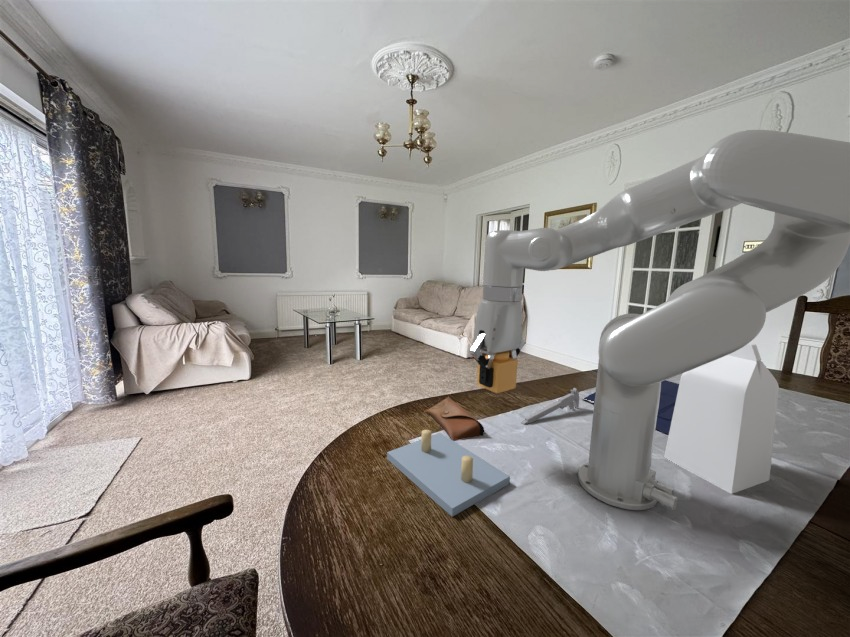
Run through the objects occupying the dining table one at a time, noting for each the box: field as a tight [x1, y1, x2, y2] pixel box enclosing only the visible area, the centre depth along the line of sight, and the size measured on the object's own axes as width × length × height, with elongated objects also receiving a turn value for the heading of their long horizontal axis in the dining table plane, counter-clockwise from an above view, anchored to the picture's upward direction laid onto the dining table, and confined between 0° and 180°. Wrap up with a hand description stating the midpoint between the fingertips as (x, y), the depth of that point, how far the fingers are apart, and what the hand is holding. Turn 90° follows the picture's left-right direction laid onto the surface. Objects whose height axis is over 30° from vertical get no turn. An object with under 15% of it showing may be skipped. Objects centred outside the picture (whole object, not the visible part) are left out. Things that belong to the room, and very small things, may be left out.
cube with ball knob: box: [476, 351, 519, 394], centre depth 70 cm, size 6×6×7 cm
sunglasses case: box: [424, 395, 485, 442], centre depth 87 cm, size 18×7×7 cm, turn 23°
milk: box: [663, 342, 780, 495], centre depth 66 cm, size 12×12×26 cm
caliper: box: [520, 387, 580, 425], centre depth 91 cm, size 21×1×6 cm, turn 119°
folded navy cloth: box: [583, 379, 680, 436], centre depth 98 cm, size 24×30×4 cm
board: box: [386, 429, 511, 517], centre depth 66 cm, size 20×14×6 cm
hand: (496, 381), depth 70 cm, fingers closed on cube with ball knob, 5 cm apart
